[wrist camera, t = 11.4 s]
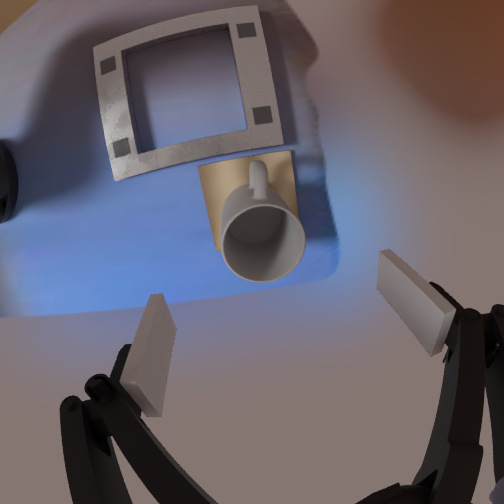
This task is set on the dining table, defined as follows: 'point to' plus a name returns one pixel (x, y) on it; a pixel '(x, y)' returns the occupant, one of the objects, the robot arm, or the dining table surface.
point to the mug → (260, 230)
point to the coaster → (237, 174)
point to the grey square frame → (256, 136)
